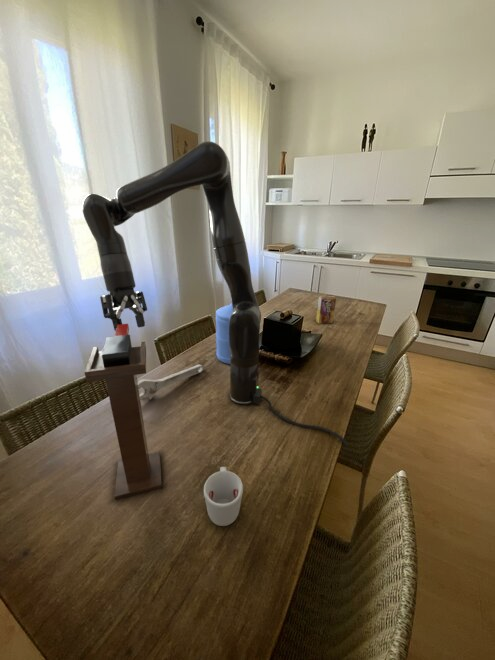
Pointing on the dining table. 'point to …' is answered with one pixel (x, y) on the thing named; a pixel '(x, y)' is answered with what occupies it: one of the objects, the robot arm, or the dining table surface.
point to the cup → (223, 496)
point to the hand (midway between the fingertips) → (131, 329)
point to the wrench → (165, 381)
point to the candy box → (326, 309)
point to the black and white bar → (117, 348)
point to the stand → (128, 422)
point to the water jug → (223, 333)
